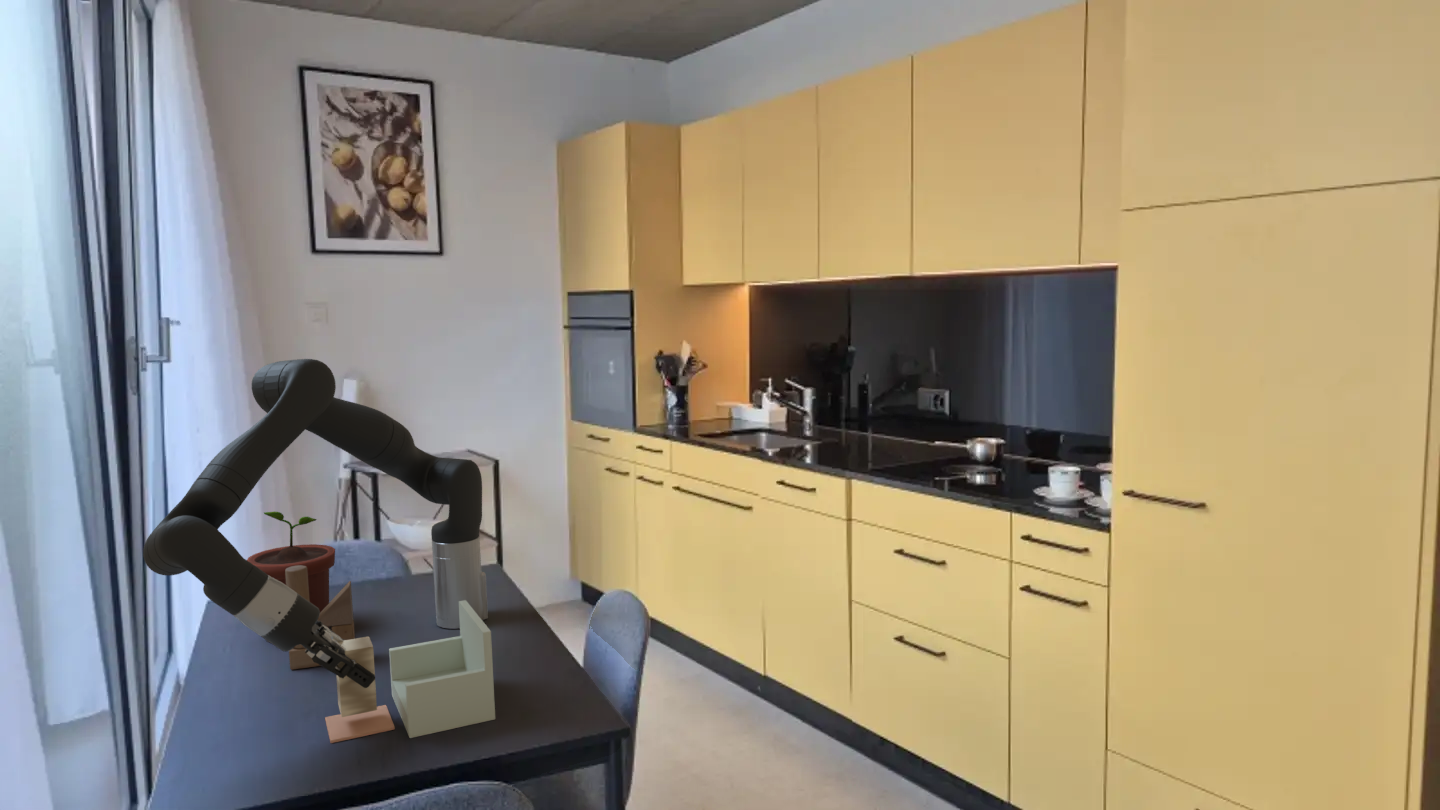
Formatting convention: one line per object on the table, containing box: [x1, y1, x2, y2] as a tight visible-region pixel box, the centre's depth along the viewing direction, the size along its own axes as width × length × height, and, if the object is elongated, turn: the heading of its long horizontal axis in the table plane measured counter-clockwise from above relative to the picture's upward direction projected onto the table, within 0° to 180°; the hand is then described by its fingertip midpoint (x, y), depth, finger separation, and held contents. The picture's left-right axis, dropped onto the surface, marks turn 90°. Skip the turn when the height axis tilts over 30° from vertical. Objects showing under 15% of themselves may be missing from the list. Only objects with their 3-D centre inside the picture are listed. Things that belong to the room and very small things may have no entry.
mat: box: [324, 704, 396, 744], centre depth 144 cm, size 9×9×1 cm
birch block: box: [335, 636, 378, 717], centre depth 143 cm, size 5×5×10 cm
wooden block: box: [285, 565, 356, 671], centre depth 169 cm, size 4×11×18 cm, turn 108°
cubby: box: [388, 600, 496, 739], centre depth 149 cm, size 13×17×14 cm
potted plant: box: [246, 511, 336, 629], centre depth 186 cm, size 18×22×25 cm
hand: (368, 675), depth 144 cm, fingers closed on birch block, 5 cm apart
